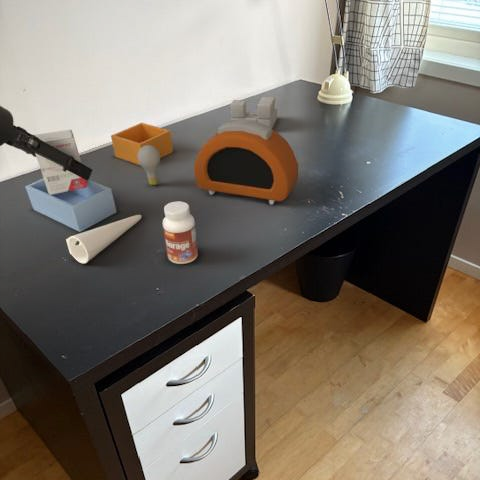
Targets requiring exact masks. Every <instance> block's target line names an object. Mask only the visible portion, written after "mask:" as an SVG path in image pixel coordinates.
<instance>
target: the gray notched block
mask: <svg viewBox="0 0 480 480" xmlns="http://www.w3.org/2000/svg"><path fill="white" fill-rule="evenodd" d="M256 106H257V111H256V112H257V114H251V113H250V109H247V100H244V99H233V100H232V102H231V103H230V117H231V120H230V121H234V120H250V121H255V122H258V123H261V124H264V125H266V126H268V127H270V128H271V129H272V130H273V128H274V126H275V124H276V122H277V120H278V106H277V105H276V97H275V96H262V97H261V99H260V101H259V102H258V104H257V105H256Z"/></svg>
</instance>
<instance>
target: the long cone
mask: <svg viewBox="0 0 480 480" xmlns="http://www.w3.org/2000/svg"><path fill="white" fill-rule="evenodd" d="M141 219H142V215H141V214H135V215H132V216H129V217H126V218H123V219H120V220H117V221H114V222H110V223H107V224H105V225H101V226H98V227H94V228H93V229H90V230H85V231H82V232H79V233H77V234H74V235H71V236H69V237H68V238H65V240H66V245H67V248H68V251H69V254H70V255H71V256H72V257H73V259H74V260H76V261H77V262H78V263H80V264H87V263H88V262H90V261H91V260H93V258H95V257H96V256H97V255H99V253H101V252H102V251H103V250H105V249H106V248H107V247H108V246H110V245H111V244H112V243H113V242H115V241H116V240H117V239H118V238H120V237H121V236H122V235H123V234H124V233H126V232H127V231H128V230H130V229H131V228H132V227H133V226H134V225H136V224H137V223H138V222H140V220H141ZM77 242H78V243H79V244H77Z"/></svg>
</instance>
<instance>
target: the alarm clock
mask: <svg viewBox="0 0 480 480" xmlns="http://www.w3.org/2000/svg"><path fill="white" fill-rule="evenodd" d="M193 173H194V179H195V183H196V185H197V186H198V187H199V188H200V189H201V190H204V191H208V193H209V195H210V196H212V195H214V194H215V193H216V192H217V193H224V194H230V195H237V196H242V197H243V196H244V197H249V198H255V199H261V200H262V199H263V200H268V203H269V205H274V204H275V202H282V201H284V200H286V199H287V198H288V197H289V195H290V193H291V192H292V191H293V189H294V188H295V186H296V184H297V181H298V177H299V163H298V160H297V158H296V155H295V152H294V151H293V148H292V147H291V145H290V143H289V142H288V141H287V140H286V139H285V138H284V137H283V135H281V134H280V133H278V132H277V131H276V130H274V129H273V128H272V129H271V128H270V127H268V126H266V125H264V124H261V123H258V122H255V121H250V120H234V121H231V120H229V121H225V122H224V123H222V124H221V125H219V127H218V128H217V132H216V133H215V134H214V135H213V136H212V137H211V138H210V139H208V141H206V142H205V143H204V144H203V145H202V147H201V148H200V151H199V152H198V154H197V156H196V158H195V161H194V165H193Z"/></svg>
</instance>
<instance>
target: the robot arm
mask: <svg viewBox="0 0 480 480" xmlns="http://www.w3.org/2000/svg"><path fill="white" fill-rule="evenodd" d="M14 121H15V120H14V117H13V114H12V112H11V111H10V110H8V109H6V108H5V107H3V106H2V105H0V147H1V146H3V145H4V144H6V145H7V146H10V147H13V148H15V149H18V150H21V151H22V152H25V154H27V155H31V156H33V157H34V158H36V155H35V153H36V154H38V155H40V156H42V157H44V158H46V159H48V160H50V161H52V162H54V163H56V164H58V165H60V166H62V167H63V170H62V171H64V172H66V170H68V171H70V172H71V173H73V174H75V175H77V176H79V177H81V178H83V179H85V180H87V181H88V180H90V177H91V175H92V172H93V169H92V168H91V167H89V166H88V165H86V164H84V163H82V162H81V163H80V162H78V161H77V160H75V159H74V157H72V156H69V155H68V154H66V153H64V152H62V151H60V150H58V149H57V148H55V147H53V146H51V145H49V144H47V143H45V142H44V141H42V140H40V139H39V138H38V137H36V136H35V135H36V134H32V133H29V132H28V131H27V130H26V129H25V128H23V127H21V126H16V125H15V124H14Z"/></svg>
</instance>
